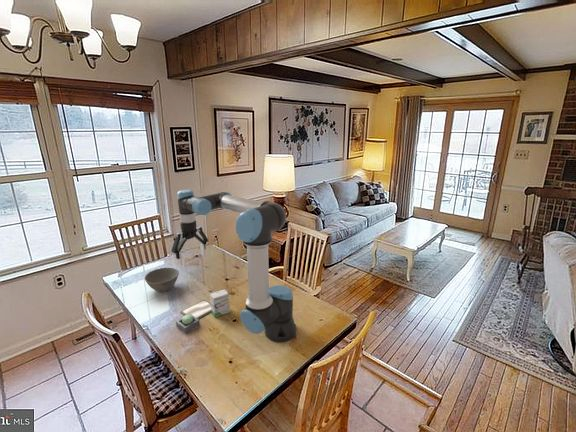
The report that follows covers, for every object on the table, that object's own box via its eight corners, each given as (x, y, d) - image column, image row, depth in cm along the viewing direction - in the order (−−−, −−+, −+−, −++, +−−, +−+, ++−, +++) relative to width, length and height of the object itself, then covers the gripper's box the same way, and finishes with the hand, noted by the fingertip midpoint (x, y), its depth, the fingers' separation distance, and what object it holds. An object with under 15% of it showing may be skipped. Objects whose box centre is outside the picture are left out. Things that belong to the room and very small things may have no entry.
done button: (195, 322, 147) (194, 317, 147) (186, 327, 144) (185, 322, 143) (189, 318, 150) (188, 313, 150) (180, 323, 147) (179, 318, 146)
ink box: (214, 318, 154) (213, 298, 150) (211, 313, 157) (209, 293, 154) (230, 312, 158) (228, 293, 155) (226, 307, 162) (225, 288, 159)
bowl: (139, 295, 173) (137, 280, 170) (160, 280, 191) (158, 265, 188) (168, 300, 169) (165, 284, 166) (186, 283, 186) (184, 269, 183)
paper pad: (217, 308, 162) (217, 307, 161) (193, 321, 150) (193, 320, 150) (204, 300, 169) (204, 299, 169) (180, 312, 158) (180, 311, 157)
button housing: (199, 325, 148) (199, 320, 147) (185, 333, 142) (184, 328, 141) (190, 318, 153) (190, 313, 152) (176, 326, 147) (175, 321, 146)
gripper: (204, 213, 161) (207, 250, 167) (160, 225, 142) (165, 265, 148) (213, 216, 156) (216, 253, 162) (169, 229, 138) (174, 270, 144)
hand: (192, 259), depth 155 cm, fingers open, 13 cm apart
